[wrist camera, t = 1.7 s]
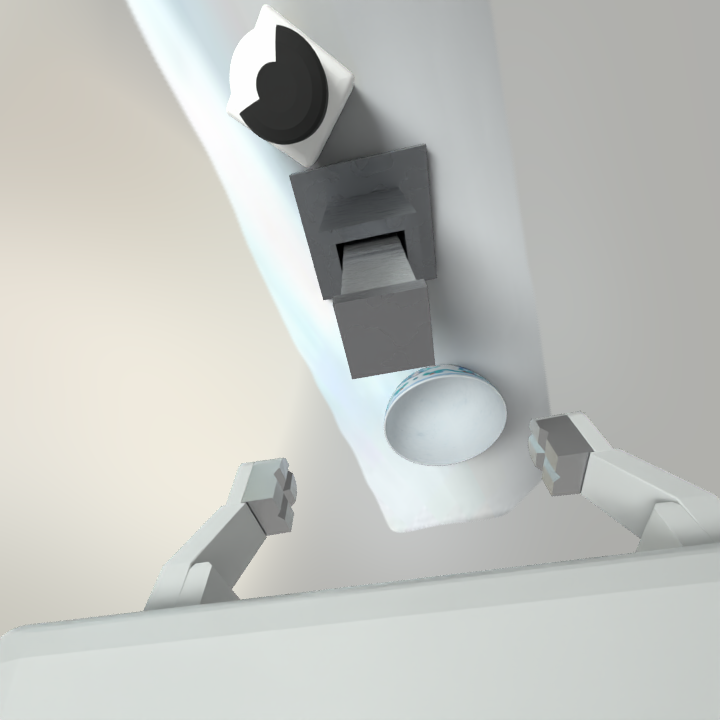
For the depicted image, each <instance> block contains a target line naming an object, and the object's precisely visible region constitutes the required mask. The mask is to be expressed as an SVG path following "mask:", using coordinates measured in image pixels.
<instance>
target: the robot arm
mask: <svg viewBox="0 0 720 720" xmlns="http://www.w3.org/2000/svg"><path fill="white" fill-rule="evenodd" d="M529 429H530V430H531V432H532V434H531V435H530V437H529V438H528V448H529V453H530V456H531V459H532V461H533V463H534V465H535V467H537V468H538V469H540V470H542V471H543V472H542V480H543V481H544V483H545V485H546V487H547V488H548V490H549V492H550V494H551V496H559V495H569V494H578V493H581V495H582V496H583V497H585V498H586V499H588V500H589V501H590V502H591V503H593V504H594V505H595V506H597V507H598V508H600V509H601V510H602V511H604V512H605V513H607V514H608V515H609V516H610V517H612V518H613V519H614V520H616V521H617V522H619V523H620V524H621V525H623V526H624V527H625V528H627V529H628V530H629V531H631V532H632V533H633V534H635V535H636V536H637V537H639V538H640V539H641V540H640V542H639V545H638V547H637V550H636V552H635V553H628V554H620V555H611V556H602V557H594V558H586V559H577V560H569V561H561V562H552V563H544V564H536V565H527V566H519V567H510V568H502V569H493V570H485V571H476V572H468V573H460V574H451V575H443V576H435V577H426V578H419V579H410V580H401V581H393V582H385V583H377V584H368V585H360V586H351V587H343V588H335V589H326V590H318V591H309V592H302V593H293V594H285V595H276V596H267V597H259V598H251V599H242V600H240V599H239V597H238V596H237V595H236V594H235V593H234V591H232V588H233V586H234V585H235V584H236V582H237V581H238V579H239V578H240V576H241V575H242V573H243V572H244V570H245V569H246V567H247V566H248V564H249V563H250V561H251V560H252V558H253V557H254V555H255V554H256V552H257V551H258V549H259V548H260V546H261V545H262V543H263V542H264V540H265V539H266V536H267V535H274V534H280V533H286V532H291V529H292V522H293V516H294V512H293V510H292V508H291V506H292V505H293V504H294V503H295V501H296V496H297V487H296V481H295V477H294V475H293V473H291V472H290V471H288V467H289V464H288V462H287V460H286V458H278V459H272V460H263V461H256V462H250V463H242V464H241V465H240V466H239V468H238V471H237V473H236V476H235V479H234V482H233V485H232V488H231V491H230V494H229V497H228V500H227V503H226V505H225V506H221V507H220V508H219V509H218V510H217V511H216V512H215V513H214V514H213V515H212V516H211V517H210V518H209V519H208V520H207V521H206V522H205V523H204V525H203V526H202V527H201V528H200V529H199V530H198V531H197V532H196V533H195V534H194V535H193V536H192V537H191V538H190V539H189V540H188V541H187V542H186V543H185V544H184V545H183V546H182V547H181V548H180V549H179V550H178V551H177V552H176V553H175V554H174V556H172V557H171V559H169V560H168V562H167V563H166V564H165V565H164V566H163V567H162V569H161V572H160V574H159V576H158V579H157V581H156V583H155V586H154V588H153V590H152V592H151V595H150V597H149V599H148V601H147V604H146V606H145V608H144V611H140V612H132V613H124V614H116V615H107V616H99V617H90V618H81V619H73V620H64V621H56V622H47V623H38V624H30V625H24V626H19V627H17V628H14V629H12V630H10V631H8V632H7V633H6V634H4V635H3V636H1V637H0V720H720V499H719V498H718V497H717V496H716V495H715V494H713V493H711V492H709V491H707V490H705V489H703V488H700V487H698V486H696V485H694V484H692V483H690V482H688V481H686V480H684V479H682V478H680V477H678V476H676V475H674V474H671V473H669V472H667V471H665V470H663V469H661V468H659V467H657V466H655V465H653V464H651V463H649V462H647V461H644V460H642V459H640V458H638V457H636V456H634V455H632V454H630V453H628V452H626V451H624V450H622V449H620V448H619V449H614V448H613V447H612V445H611V444H610V443H609V442H608V441H607V440H606V439H605V437H604V436H603V435H602V434H601V432H600V431H599V430H598V429H597V428H596V426H595V425H594V424H593V423H592V422H591V420H590V419H589V418H588V417H587V416H586V414H585V413H584V412H581V411H577V412H571V413H566V414H559V415H553V416H547V417H541V418H535V419H531V421H530V424H529Z"/></svg>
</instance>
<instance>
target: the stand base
mask: <svg viewBox="0 0 720 720" xmlns="http://www.w3.org/2000/svg"><path fill="white" fill-rule="evenodd" d="M289 177H290V180H291V184H292V188H293V191H294V195H295V198H296V202H297V206H298V209H299V213H300V217H301V220H302V224H303V228H304V231H305V235H306V238H307V242H308V246H309V249H310V253H311V257H312V260H313V264H314V268H315V271H316V275H317V278H318V282H319V286H320V289H321V293H322V297H323V300H327V299H332V298H334V296H338V295H341V288H342V271H343V254H344V242H348V241H353V240H358V239H363V238H367V237H372V236H377V235H382V234H387V233H391V232H396V234H397V236H398V238H399V241H400V243H401V246H402V248H403V250H404V253H405V255H406V257H407V260H408V262H409V264H410V267H411V269H412V272H413V274H414V276H415V279H416V280H420V279H424V280H430V279H435V278H437V275H436V263H435V251H434V238H433V226H432V214H431V202H430V189H429V177H428V165H427V152H426V144H420V145H416V146H411V147H407V148H402V149H398V150H394V151H389V152H385V153H381V154H376V155H372V156H367V157H363V158H359V159H354V160H350V161H346V162H341V163H337V164H333V165H328V166H324V167H319V168H315V169H311V170H306V171H302V172H298V173H293V174H291V175H289Z"/></svg>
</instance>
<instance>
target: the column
mask: <svg viewBox="0 0 720 720" xmlns="http://www.w3.org/2000/svg"><path fill="white" fill-rule="evenodd" d="M333 307H334V311H335V315H336V319H337V322H338V326H339V330H340V334H341V338H342V341H343V345H344V349H345V353H346V357H347V361H348V364H349V368H350V372H351V376H352V379H356V378H362V377H368V376H374V375H380V374H385V373H391V372H397V371H403V370H409V369H414V368H420V367H426V366H432V365H435V359H434V349H433V338H432V328H431V318H430V308H429V298H428V287H427V284H426V282H425V280H424V279H420V280H416V279H415V276H414V274H413V272H412V269H411V267H410V264H409V262H408V260H407V257H406V255H405V253H404V250H403V248H402V246H401V243H400V241H399V238H398V236H397V234H396V232H391V233H387V234H382V235H377V236H372V237H367V238H363V239H358V240H353V241H348V242H344V254H343V271H342V288H341V295H338V296H334V298H333Z"/></svg>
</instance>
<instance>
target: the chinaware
mask: <svg viewBox="0 0 720 720" xmlns="http://www.w3.org/2000/svg"><path fill="white" fill-rule="evenodd" d="M506 420H507V408H506V404H505V401H504V399H503V397H502V396H501V394H500V393H499V392H498V390H497V389H496V388H495V387H494V386H493V385H492V384H491V383H489V382H488V381H487V380H486V379H485V378H483V377H482V376H480V375H479V374H477V373H475V372H473V371H471V370H469V369H466V368H463V367H460V366H455V365H434V366H429V367H426V368H423V369H420V370H418V371H416V372H414V373H413V374H411V375H410V376H408V377H407V378H406V379H405V380H404V381H402V382H401V384H400V385H399V386H398V387H397V388H396V390H395V391H394V393H393V395H392V396H391V398H390V401H389V403H388V406H387V409H386V413H385V418H384V434H385V437H386V440H387V442H388V444H389V446H390V447H391V448H392V449H393V450H394V451H395V452H396V453H397V454H398V455H399V456H401V457H402V458H404V459H406V460H408V461H411V462H413V463H417V464H421V465H427V466H446V465H452V464H457V463H460V462H464V461H466V460H469V459H471V458H474V457H476V456H477V455H479V454H481V453H482V452H484V451H485V450H487V449H488V448H489V447H490V446H491V445H492V444H493V443H494V442H495V441H496V440H497V439H498V438H499V436H500V435H501V433H502V431H503V429H504V427H505V424H506Z"/></svg>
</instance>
